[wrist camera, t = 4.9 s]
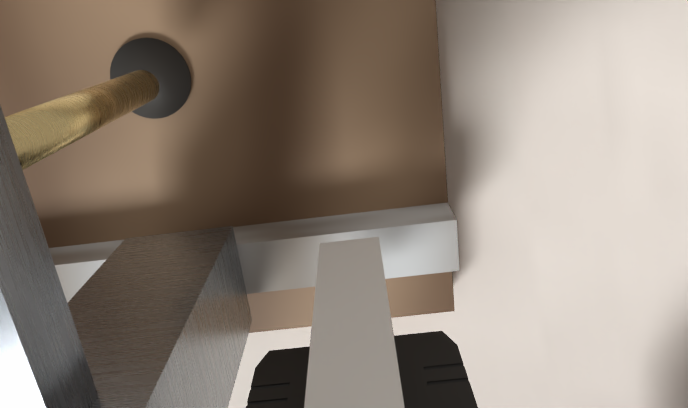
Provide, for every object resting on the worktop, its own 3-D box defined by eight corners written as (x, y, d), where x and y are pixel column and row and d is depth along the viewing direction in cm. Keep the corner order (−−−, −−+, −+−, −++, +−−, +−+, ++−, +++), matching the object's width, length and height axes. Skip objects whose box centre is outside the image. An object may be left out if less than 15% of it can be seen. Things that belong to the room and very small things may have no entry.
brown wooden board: (-264, 369, 20) (-347, 420, 18) (-470, 28, 16) (-614, 33, 14) (448, 292, 19) (463, 335, 17) (422, -94, 15) (438, -112, 13)
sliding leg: (152, 330, 16) (-60, 699, 8) (76, 61, 14) (-378, 168, 5) (252, 319, 16) (149, 683, 8) (195, 45, 14) (-62, 128, 5)
